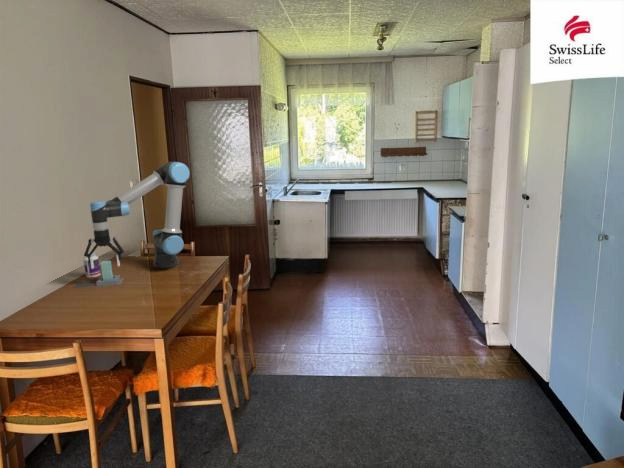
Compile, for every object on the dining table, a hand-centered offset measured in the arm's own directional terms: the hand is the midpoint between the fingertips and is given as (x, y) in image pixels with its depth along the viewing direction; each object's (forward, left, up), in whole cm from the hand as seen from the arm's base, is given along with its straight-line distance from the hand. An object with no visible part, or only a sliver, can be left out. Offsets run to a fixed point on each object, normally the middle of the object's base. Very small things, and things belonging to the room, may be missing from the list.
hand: (105, 267), depth 260 cm
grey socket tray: (0, 0, -10) cm, 10 cm away
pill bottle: (+12, -19, -10) cm, 24 cm away
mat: (+13, -2, -10) cm, 16 cm away
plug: (0, 0, -9) cm, 9 cm away
